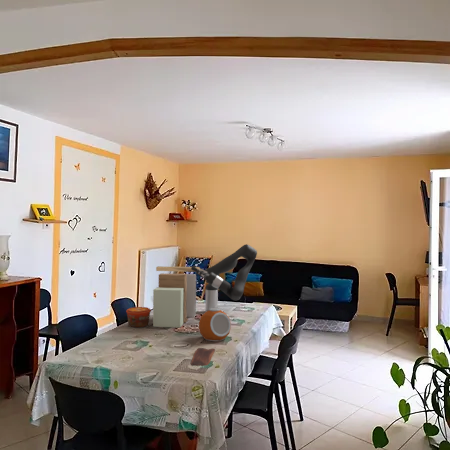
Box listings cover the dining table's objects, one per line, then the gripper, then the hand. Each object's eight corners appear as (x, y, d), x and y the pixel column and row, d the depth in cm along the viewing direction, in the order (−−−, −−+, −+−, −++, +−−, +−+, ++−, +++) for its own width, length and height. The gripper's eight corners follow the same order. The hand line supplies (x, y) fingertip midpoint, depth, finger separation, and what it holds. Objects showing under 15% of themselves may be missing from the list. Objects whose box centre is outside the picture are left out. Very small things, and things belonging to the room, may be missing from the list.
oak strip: (157, 270, 282) (157, 266, 282) (199, 270, 280) (199, 267, 280) (156, 270, 278) (156, 267, 278) (198, 271, 276) (198, 267, 276)
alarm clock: (208, 344, 239) (208, 313, 239) (193, 336, 254) (193, 307, 253) (236, 339, 249) (236, 309, 249) (220, 332, 264) (221, 304, 264)
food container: (120, 326, 276) (120, 310, 276) (136, 321, 290) (136, 305, 290) (140, 329, 268) (140, 312, 268) (155, 324, 282) (155, 308, 282)
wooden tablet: (208, 364, 203) (188, 360, 204) (207, 369, 203) (187, 365, 204) (216, 348, 230) (197, 345, 231) (215, 352, 230) (197, 349, 231)
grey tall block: (195, 315, 309) (196, 274, 309) (194, 317, 303) (194, 275, 303) (176, 314, 310) (176, 273, 310) (174, 316, 305) (175, 274, 304)
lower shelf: (156, 323, 286) (157, 287, 285) (183, 324, 284) (183, 288, 283) (153, 326, 277) (153, 289, 276) (180, 327, 275) (180, 290, 274)
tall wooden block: (159, 318, 298) (160, 273, 297) (188, 319, 296) (188, 273, 295) (156, 322, 289) (156, 274, 288) (185, 323, 287) (185, 275, 286)
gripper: (218, 274, 284) (196, 261, 285) (216, 277, 269) (193, 263, 271) (213, 283, 284) (191, 270, 285) (210, 287, 270) (187, 273, 271)
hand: (192, 267), depth 278 cm, fingers closed on oak strip, 4 cm apart
